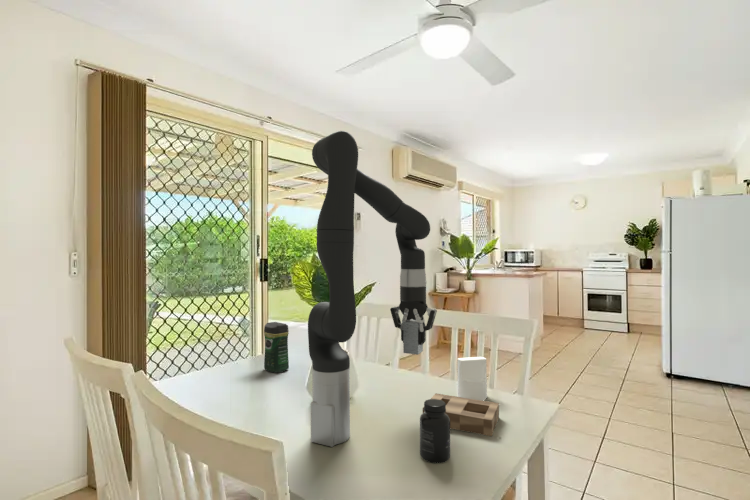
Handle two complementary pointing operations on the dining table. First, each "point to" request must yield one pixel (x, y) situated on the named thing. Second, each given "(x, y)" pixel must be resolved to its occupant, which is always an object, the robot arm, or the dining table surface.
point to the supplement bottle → (435, 432)
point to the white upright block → (472, 378)
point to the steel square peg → (411, 337)
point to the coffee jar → (276, 347)
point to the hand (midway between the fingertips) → (413, 343)
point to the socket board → (470, 414)
